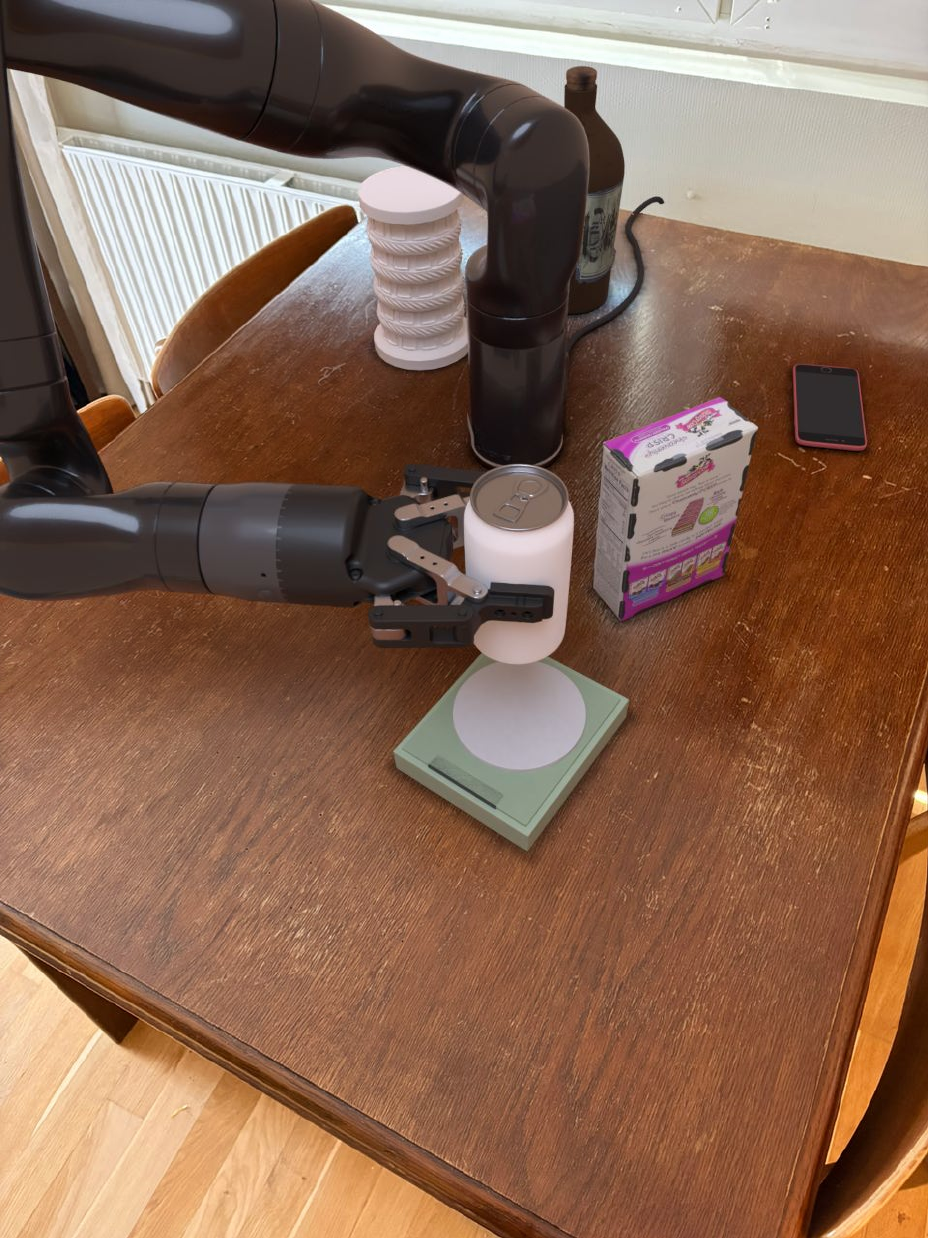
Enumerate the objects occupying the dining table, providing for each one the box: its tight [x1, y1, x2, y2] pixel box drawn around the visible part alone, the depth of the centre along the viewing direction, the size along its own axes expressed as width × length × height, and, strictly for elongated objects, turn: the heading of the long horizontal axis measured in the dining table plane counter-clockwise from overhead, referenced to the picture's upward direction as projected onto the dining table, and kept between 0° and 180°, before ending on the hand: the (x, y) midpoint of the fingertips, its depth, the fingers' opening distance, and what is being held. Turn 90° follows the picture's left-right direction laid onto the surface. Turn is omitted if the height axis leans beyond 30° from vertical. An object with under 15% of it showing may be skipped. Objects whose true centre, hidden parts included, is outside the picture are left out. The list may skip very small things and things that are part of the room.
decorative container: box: [357, 165, 468, 371], centre depth 99 cm, size 12×12×18 cm
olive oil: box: [563, 65, 626, 315], centre depth 102 cm, size 11×11×25 cm
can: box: [464, 464, 575, 665], centre depth 55 cm, size 6×6×12 cm
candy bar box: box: [592, 396, 759, 622], centre depth 73 cm, size 11×5×16 cm, turn 117°
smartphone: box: [792, 363, 868, 452], centre depth 94 cm, size 7×1×14 cm
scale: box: [392, 652, 630, 852], centre depth 68 cm, size 14×12×3 cm
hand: (556, 559), depth 54 cm, fingers closed on can, 6 cm apart
